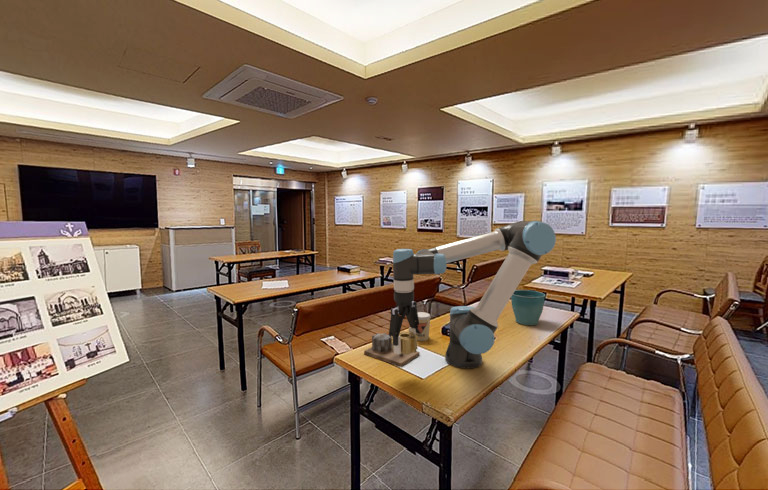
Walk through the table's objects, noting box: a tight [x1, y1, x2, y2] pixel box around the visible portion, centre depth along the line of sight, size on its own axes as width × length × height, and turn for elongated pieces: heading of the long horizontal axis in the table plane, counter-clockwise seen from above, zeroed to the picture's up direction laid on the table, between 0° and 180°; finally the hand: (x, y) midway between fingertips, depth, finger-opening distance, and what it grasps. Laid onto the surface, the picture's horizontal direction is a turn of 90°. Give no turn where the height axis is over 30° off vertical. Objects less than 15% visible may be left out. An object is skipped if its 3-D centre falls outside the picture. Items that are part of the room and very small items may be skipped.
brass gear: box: [391, 330, 418, 355], centre depth 124 cm, size 9×9×6 cm
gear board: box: [363, 332, 421, 367], centre depth 145 cm, size 20×14×8 cm
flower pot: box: [510, 289, 546, 326], centre depth 188 cm, size 18×18×17 cm
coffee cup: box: [416, 311, 431, 342], centre depth 165 cm, size 9×9×12 cm
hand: (405, 348), depth 125 cm, fingers closed on brass gear, 9 cm apart
